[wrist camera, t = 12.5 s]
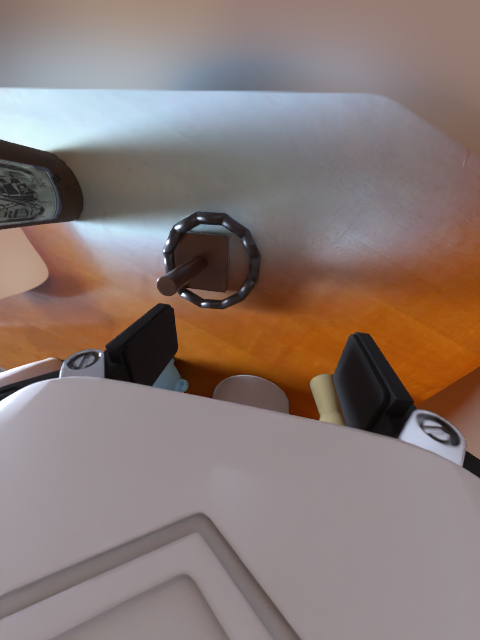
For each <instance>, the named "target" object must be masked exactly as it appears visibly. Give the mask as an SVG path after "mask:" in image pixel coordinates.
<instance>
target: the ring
mask: <svg viewBox="0 0 480 640" xmlns="http://www.w3.org/2000/svg"><path fill="white" fill-rule="evenodd" d="M199 224H209V225H222V226H224V227H225V228H227V229H228V230H229V231H231V232H232V233H234V234H235V235H236V236H238V237H239V238H241V240H242V242H243V244H244V247H245V249H246V251H247V253H248V255H249V257H250V263H249V276H248V279H247V281H246V282H245V283H244V285H243V286H242V288H241V289H240V290H239V292H238V293H236V294H234V295H232V296H230V297H228V298H225V299H223V300H212V299H203V298H201V297H199V296H198V295H196V294H194V293H193V292H191V291H189V290H188V289H186V287H185V286H183V287H182V288H181V289H180V290H178V291H177V292H178V293H179V295H180V296H181V297H183V298H185V299H186V300H188V301H190V302H192V303H193V304H195V305H197V306H199V307H200V308H211V309H225V308H228V307H230V306H232V305H235V304H237V303H239V302H241V301H243V300H244V299H245V298H246V297H247V295H248V294H249V293H250V291H251V290H252V289H253V287H254V286H255V285H256V283H257V282H258V275H259V265H260V254H259V252H258V249H257V247H256V245H255V243H254V240H253V238H252V236H251V233H250V231H249V230H248V229H246V228H245V227H244V226H242V225H241V224H240V223H238V222H237V221H236V220H234V219H233V218H231V217H230V216H229V215H227V214H226V213H216V212H201V211H197V212H195V213H193V214H191V215H190V216H188V217H187V218H185V219H183V220H182V221H180V222H178V223H177V224H175V225H174V226H173V228H172V230H171V232H170V234H169V237H168V239H167V241H166V243H165V246H164V248H163V255H164V263H165V271H166V274H167V273H168V272H170V271H172V270H173V269H175V258H174V251H175V249H176V247H177V245H178V243H179V241H180V238H181V236H182V234H184V233H186V232H187V231H189V230H191V229H192V228H194V227H196V226H198V225H199Z"/></svg>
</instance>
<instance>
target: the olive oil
mask: <svg viewBox="0 0 480 640" xmlns="http://www.w3.org/2000/svg"><path fill="white" fill-rule="evenodd" d="M82 206H83V198H82V192H81V189H80V186H79V184H78V181H77V179H76V177H75V176H74V174H73V173H72V171H71V170H70V169H69V167H68V166H67V165H66V164H65V163H64V162H63V161H62V160H61V159H59V158H58V157H56V156H55V155H53V154H51V153H48V152H45V151H42V150H38V149H34V148H30V147H26V146H23V145H19V144H15V143H11V142H8V141H4V140H0V230H1V229H8V228H16V227H24V226H32V225H40V224H49V223H59V222H68V221H72V220H75V219H76V218H77V217H78V216H79V215H80V213H81V211H82Z"/></svg>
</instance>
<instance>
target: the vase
mask: <svg viewBox="0 0 480 640" xmlns="http://www.w3.org/2000/svg"><path fill="white" fill-rule="evenodd" d="M62 364H63V361H61V360H59V359H57V358H48V359H45V360H41V361H37V362H34V363H30V364H27V365H23V366H20V367H17V368H14V369H11V370H8V371H6V372H3V373H0V387H2V386H5V385H9V384H12V383H15V382H19V381H22V380H26V379H29V378H33V377H36V376H40V375H43V374H47V373H50V372H54V371H57V370H61V367H62Z"/></svg>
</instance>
